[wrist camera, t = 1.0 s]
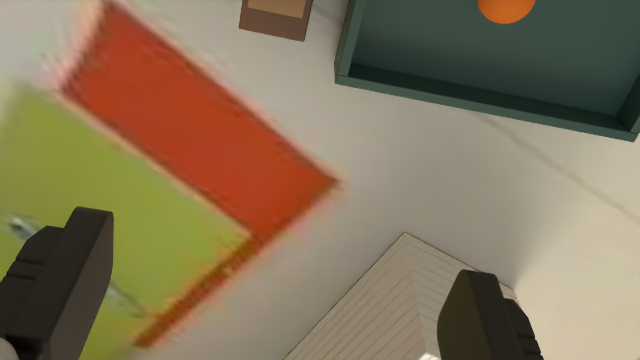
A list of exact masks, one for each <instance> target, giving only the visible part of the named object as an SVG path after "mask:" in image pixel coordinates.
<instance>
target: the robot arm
mask: <svg viewBox="0 0 640 360" xmlns="http://www.w3.org/2000/svg"><path fill="white" fill-rule="evenodd" d="M113 226H114V217H113V213H112V212H110V211H104V210H98V209H92V208H86V207H79V206H78V207H76V208H75V209H74V211H73V212H72V214H71V216H70V218H69V220H68V221H67V223H66V225H65V227H64V228H60V227H54V226H46V227H44V228H43V229H41V230H40V231H39V232H37V233H36V234H34V235H33V236H32V237H30V238H29V239H27V241H26V242H25V244H24V246H23V247H22V249H21V250H20V252H19V254H18V255H17V257H16V260H15V262H13V263H12V265H11V266H10V268H9V270H8V271H7V274H6V277H4V278H3V279H2V281H1V283H0V360H79V357H80V355H81V352H82V350H83V347H84V345H85V342H86V340H87V338H88V335H89V333H90V330H91V328H92V325H93V323H94V320H95V318H96V316H97V313H98V311H99V308H100V306H101V303H102V301H103V298H104V296H105V294H106V291H107V289H108V285H109V282H110V278H111V273H112V267H113ZM437 341H438V346H439V351H440V356H441V360H544V359H543V356H541V355H540V353H541V351H540V348H539V345H538V343H537V340H535V335H534V332H533V329H532V327H531V324H530V321H529V319H528V317H527V316H526V314H525V313H524V312H523V311H522V309H521V308H520V307H519V306H518V304H517V303H516V302H515V301H514V299H508V298H504V296H503V293H502V291H501V288H500V285H499V282H498V279H497V277H496V276H495V275H494V274H490V273H484V272H478V271H472V270H465V269H462V270H461V271H460V272H459V273H458V275H457V277H456V279H455V281H454V283H453V286H452V288H451V290H450V292H449V294H448V296H447V298H446V300H445V303H444V305H443V307H442V309H441V311H440V314H439V317H438V322H437Z"/></svg>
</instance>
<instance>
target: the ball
mask: <svg viewBox="0 0 640 360" xmlns="http://www.w3.org/2000/svg"><path fill="white" fill-rule="evenodd" d="M535 1H536V0H477V4H478V7H479V9H480V11H481V13H482V14H483V15H484V16H485V17H486V18H487V19H489V20H491V21H493V22H495V23H500V24H509V23H513V22H516V21H518V20H520V19H522V18H523V17H524V16H526V15H527V14H528V13H529V11H530V10H531V9H532V7H533V5H534V3H535Z"/></svg>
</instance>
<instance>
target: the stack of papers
mask: <svg viewBox="0 0 640 360" xmlns="http://www.w3.org/2000/svg"><path fill="white" fill-rule="evenodd" d="M462 269H465V270H472V271H477V270H475V269H473V268H471V267H469V266H467V265H465V264H463V263H462V262H460V261H458V260H456V259H454V258H452V257H450V256H448V255H447V254H445V253H443V252H441V251H439V250H437V249H435V248H433V247H432V246H430V245H428V244H426V243H424V242H422V241H420V240H419V239H417V238H415V237H413V236H411V235H409V234H407V233H404V234H403V235H402V236H401V237H400V238H399V239H398V240H397V241H396V242H395V243H394V244H393V245H392V246H391V247H390V248H389V249H388V250H387V252H386V253H385V254H384V255H383V256H382V257H381V258H380V259H379V260H378V261H377V262H376V263H375V264H374V265H373V266H372V267H371V268H370V269H369V270H368V272H367V273H366V274H365V275H364V276H363V277H362V278H361V279H360V280H359V281H358V282H357V283H356V284H355V285H354V286H353V287H352V288H351V289H350V290H349V292H348V293H347V294H346V295H345V296H344V297H343V298H342V299H341V300H340V301H339V302H338V303H337V304H336V305H335V306H334V307H333V308H332V309H331V311H330V312H329V313H328V314H327V315H326V316H325V317H324V318H323V319H322V320H321V321H320V322H319V323H318V324H317V325H316V326H315V327H314V328H313V329H312V331H311V332H310V333H309V334H308V335H307V336H306V337H305V338H304V339H303V340H302V341H301V342H300V343H299V344H298V345H297V346H296V347H295V348H294V349H293V351H292V352H291V353H290V354H289V355H288V356H287V357H286V358H285V359H284V360H441V356H440V351H439V346H438V341H437V322H438V317H439V314H440V311H441V309H442V307H443V305H444V303H445V300H446V298H447V296H448V294H449V292H450V290H451V288H452V286H453V283H454V281H455V279H456V277H457V275H458V273H459V272H460V271H461V270H462ZM499 285H500V288H501V291H502V293H503V296H504V298H508V299H514V301H515V302H516V303H517V304H518V306H519V307H520V305H519V302H518V301H517V300H516V299H517V297H516V294H515V291H514V290H512V289H510V288H508V287H507V286H505V285H503V284H501V283H499ZM520 308H521V307H520Z"/></svg>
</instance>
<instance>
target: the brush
mask: <svg viewBox="0 0 640 360" xmlns="http://www.w3.org/2000/svg"><path fill="white" fill-rule="evenodd" d="M312 2H313V0H243V1H242V8H241V15H240V22H239V29H243V30H248V31H252V32H257V33H262V34H267V35H272V36H277V37H282V38H287V39H292V40H297V41H302V42H304V40H305V35H306V30H307V26H308V21H309V16H310V11H311V6H312Z"/></svg>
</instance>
